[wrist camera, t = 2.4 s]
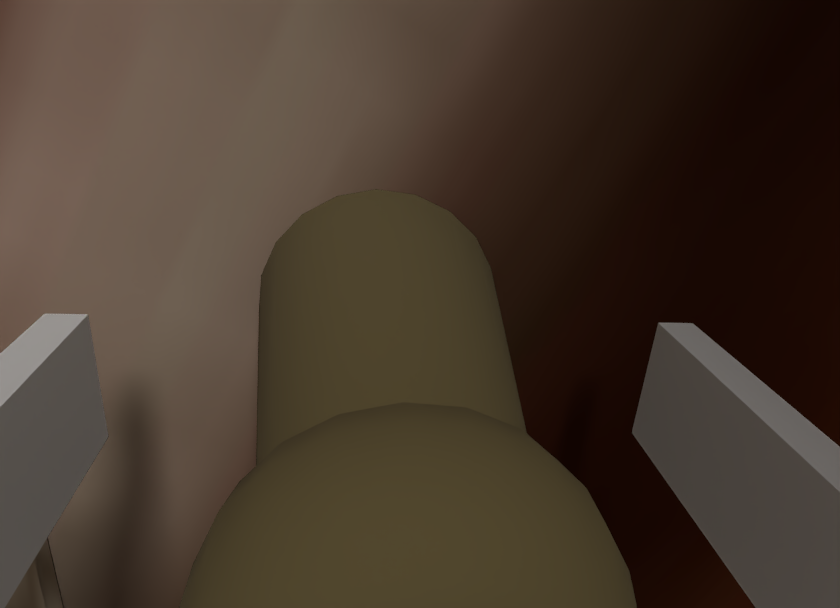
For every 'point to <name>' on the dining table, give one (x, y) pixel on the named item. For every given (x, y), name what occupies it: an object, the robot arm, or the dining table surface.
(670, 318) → the dining table surface
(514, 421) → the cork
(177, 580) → the dining table surface
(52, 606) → the tray
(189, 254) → the dining table surface
